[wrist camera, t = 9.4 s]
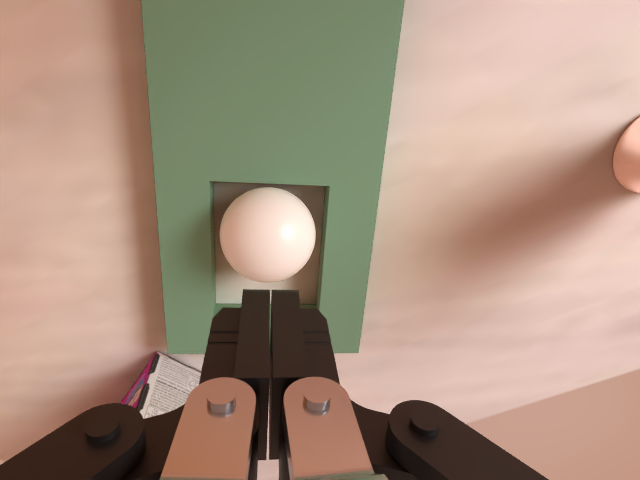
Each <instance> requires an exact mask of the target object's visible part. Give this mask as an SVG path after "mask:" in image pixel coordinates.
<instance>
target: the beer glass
mask: <svg viewBox="0 0 640 480" xmlns="http://www.w3.org/2000/svg"><path fill="white" fill-rule="evenodd" d="M613 170H614V174H615V176H616V178H617V180H618V181H619V183H620V184H621V185H622V186H624V187H625V188H627V189H628V190H631V191H634V192H637V193H640V117H639V118H637V119H636V120H635V121H634V122H632V123H631V124H630V125H629V126H628V128H627V129H626V130H625V131H624V133H623V134H622V136H621V137H620V139H619V141H618V143H617V145H616V148H615V151H614V156H613Z"/></svg>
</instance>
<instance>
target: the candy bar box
mask: <svg viewBox="0 0 640 480" xmlns="http://www.w3.org/2000/svg"><path fill="white" fill-rule="evenodd" d="M200 376H201V371H199V370H197V369H195V368H192V367H190V366H187V365H185V364H183V363H181V362H179V361H177V360H175V359H173V358H171V357H169V356H167V355H164V354H162V353H160V352H156V353H155V354H154V356H153V357H152V359H151V360H150V362H149V363H148V364H147V366H146V367H145V369H144V370H143V372H142V373H141V374H140V376H139V377H138V379H137V380H136V382H135V383H134V385H133V386H132V387H131V389H130V390H129V392H128V393H127V395H126V396H125V398H124V399H123V400H122V402H121V404H126V405H130V406H132V407H134V408H136V409H137V410H138V411H139V412H140V413H141V415H142V416H143V419H145V418H149V417H153V416H157V415H160V414H164V413H167V412H170V411H172V410H175V409H177V408H179V407H180V406H182V405H184V404H185V403H186V400H187V398H188V396H189V394H190V393H191V391H192V390H193V389H194V388H195V387H197V386H198V385H199V381H200Z"/></svg>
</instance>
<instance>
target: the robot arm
mask: <svg viewBox="0 0 640 480" xmlns="http://www.w3.org/2000/svg"><path fill="white" fill-rule="evenodd" d="M268 404H269V460H273V459H279V480H548V479H547V478H545V477H544V476H542V475H541V474H539V473H538V472H536V471H535V470H533V469H532V468H530V467H529V466H527V465H526V464H524V463H523V462H521V461H520V460H518V459H517V458H515V457H514V456H512V455H511V454H509V453H508V452H506V451H505V450H503V449H502V448H500V447H499V446H497V445H496V444H494V443H493V442H491V441H490V440H488V439H487V438H486V437H484V436H482V435H481V434H480V433H478V432H477V431H475V430H474V429H472V428H471V427H469V426H468V425H466V424H465V423H463V422H462V421H460V420H459V419H457V418H456V417H454V416H453V415H451V414H450V413H448V412H447V411H445V410H444V409H442V408H440V407H439V406H437V405H434V404H432V403H429V402H425V401H420V400H409V401H405V402H402V403H400V404H398V405H396V406H395V407H394V408H393V409H392V411H391V413H390V414H386V413H382V412H378V411H374V410H370V409H367V408H364V407H362V406H360V405H358V404H356V403H354V402H353V401H352V400H350V398H349V395H348V393H347V392H346V390H345V389H344V388H343V387H342V386H341V385H340V383H339V378H338V373H337V368H336V363H335V358H334V353H333V348H332V345H331V338H330V334H329V328H328V323H327V319H326V318H325V317H324V316H323V315H322V313H321V312H320V311H319V310H318V309H317V308H300V301H299V292H298V290H272V298H271V323H270V290H246V289H243V296H242V305H241V308H230V307H223V308H222V309H221V310H220V311H219V312H218V313H217V314H216V315H215V316H214V317H213V318H212V323H211V328H210V334H209V337H208V344H207V347H206V352H205V357H204V362H203V366H202V371H201V376H200V381H199V385H198V386H197V387H195V388H194V389H193V390H192V391H191V393H190V394H189V396H188V398H187V400H186V403H185V404H184V405H182V406H180V407H179V408H177V409H175V410H172V411H170V412H167V413H164V414H160V415H157V416H153V417H149V418H145V419H143V416H142V415H141V413H140V412H139V411H138V410H137V409H136V408H134V407H132V406H130V405H126V404H121V403H112V404H105V405H100V406H97V407H94V408H91V409H89V410H87V411H85V412H83V413H81V414H80V415H78V416H77V417H75V418H74V419H72V420H70V421H69V422H67V423H66V424H64V425H63V426H61V427H59V428H58V429H56V430H55V431H53V432H52V433H50V434H48V435H47V436H45V437H44V438H42V439H41V440H39V441H37V442H36V443H34V444H33V445H31V446H30V447H28V448H26V449H25V450H23V451H22V452H20V453H19V454H17V455H15V456H14V457H12V458H11V459H9V460H8V461H6V462H4V463H3V464H1V465H0V480H257V465H258V460H266V452H267V428H268Z"/></svg>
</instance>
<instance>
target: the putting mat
mask: <svg viewBox="0 0 640 480" xmlns="http://www.w3.org/2000/svg"><path fill="white" fill-rule="evenodd" d="M141 6H142V20H143V33H144V47H145V60H146V73H147V87H148V100H149V113H150V127H151V140H152V153H153V167H154V180H155V193H156V207H157V220H158V233H159V247H160V260H161V273H162V287H163V300H164V314H165V327H166V340H167V354H205V352H206V347H207V344H208V337H209V334H210V328H211V323H212V318H213V317H214V316H215V315H216V314H217V313H218V312H219V311H220V310H221V309H222V308H223V307H230V308H241V305H242V304H216V289H215V243H214V196H213V181H220V182H244V183H268V184H292V185H317V186H326V188H325V201H324V213H323V225H322V238H321V250H320V263H319V275H318V287H317V300H316V305H311V304H300V308H317V309H318V310H319V311H320V312H321V313H322V315H323V316H324V317H325V318H326V319H327V323H328V328H329V334H330V338H331V345H332V348H333V353H358V352H359V345H360V337H361V329H362V322H363V314H364V306H365V299H366V291H367V283H368V276H369V268H370V260H371V253H372V245H373V237H374V230H375V222H376V214H377V207H378V199H379V191H380V184H381V176H382V169H383V161H384V153H385V146H386V138H387V130H388V123H389V115H390V107H391V100H392V92H393V84H394V77H395V69H396V61H397V54H398V46H399V38H400V31H401V23H402V15H403V8H404V0H141ZM270 323H271V304H270Z"/></svg>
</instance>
